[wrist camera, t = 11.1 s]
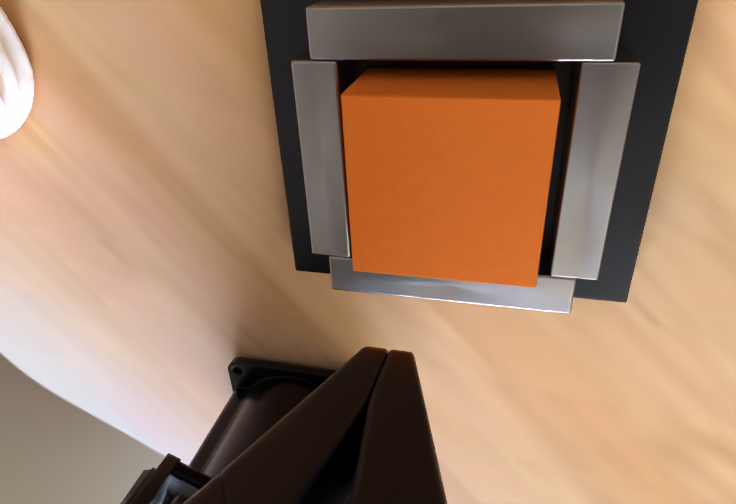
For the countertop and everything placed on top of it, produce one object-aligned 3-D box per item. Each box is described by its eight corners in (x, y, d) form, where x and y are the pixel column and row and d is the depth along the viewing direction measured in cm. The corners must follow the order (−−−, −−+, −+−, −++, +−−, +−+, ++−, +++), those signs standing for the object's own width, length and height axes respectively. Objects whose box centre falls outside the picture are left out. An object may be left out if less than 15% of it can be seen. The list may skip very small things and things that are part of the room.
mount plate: (304, 257, 22) (281, 292, 20) (270, -16, 17) (236, -6, 15) (622, 286, 20) (633, 330, 18) (694, -27, 15) (722, -18, 13)
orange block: (374, 226, 20) (352, 271, 17) (367, 67, 17) (339, 93, 14) (534, 238, 18) (535, 289, 16) (555, 69, 16) (561, 98, 13)
